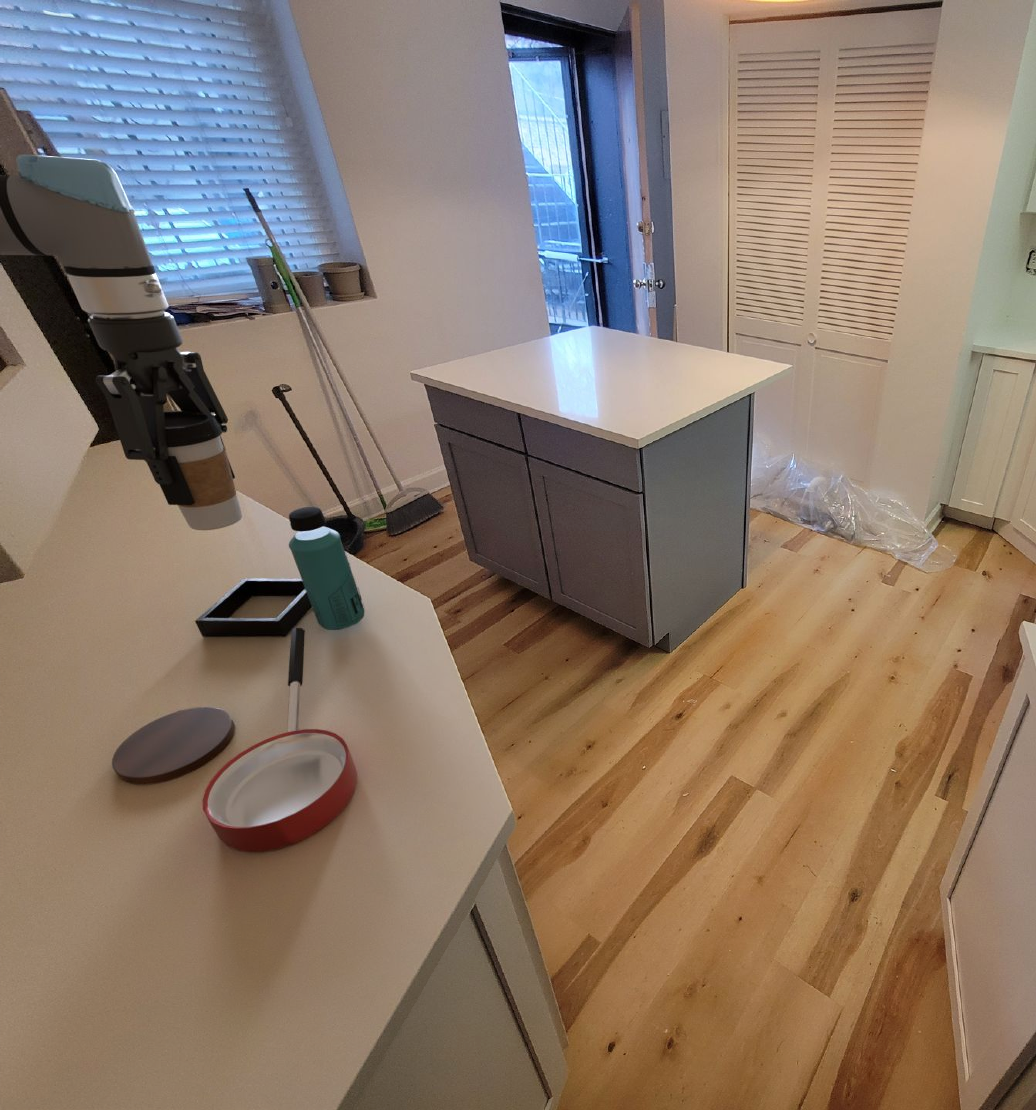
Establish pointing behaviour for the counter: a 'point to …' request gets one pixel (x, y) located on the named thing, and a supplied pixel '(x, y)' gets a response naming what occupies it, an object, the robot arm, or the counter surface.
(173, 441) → the coffee cup
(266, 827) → the frying pan
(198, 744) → the walnut coaster
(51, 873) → the counter surface
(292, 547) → the beverage bottle
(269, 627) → the black open frame
